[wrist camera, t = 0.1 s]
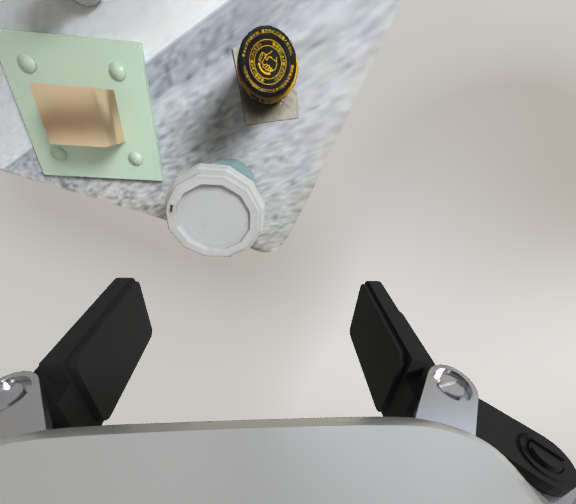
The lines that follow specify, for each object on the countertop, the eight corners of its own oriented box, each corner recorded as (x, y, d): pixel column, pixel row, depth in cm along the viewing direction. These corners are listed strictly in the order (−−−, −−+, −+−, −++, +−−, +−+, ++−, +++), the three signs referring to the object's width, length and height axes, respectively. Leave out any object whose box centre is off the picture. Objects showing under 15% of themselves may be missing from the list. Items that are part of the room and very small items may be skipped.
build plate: (-7, 29, 29) (-16, 26, 28) (141, 43, 30) (137, 41, 29) (48, 173, 37) (42, 175, 36) (164, 179, 38) (161, 181, 37)
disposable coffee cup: (276, 160, 38) (280, 189, 25) (255, 224, 43) (249, 275, 30) (204, 133, 36) (166, 149, 23) (190, 204, 40) (153, 250, 27)
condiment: (291, 39, 31) (303, 6, 21) (298, 117, 35) (310, 122, 25) (232, 47, 31) (214, 18, 21) (246, 124, 35) (236, 132, 25)
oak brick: (61, 85, 31) (28, 82, 27) (113, 90, 32) (89, 87, 27) (78, 139, 34) (50, 143, 30) (125, 142, 35) (104, 147, 30)
